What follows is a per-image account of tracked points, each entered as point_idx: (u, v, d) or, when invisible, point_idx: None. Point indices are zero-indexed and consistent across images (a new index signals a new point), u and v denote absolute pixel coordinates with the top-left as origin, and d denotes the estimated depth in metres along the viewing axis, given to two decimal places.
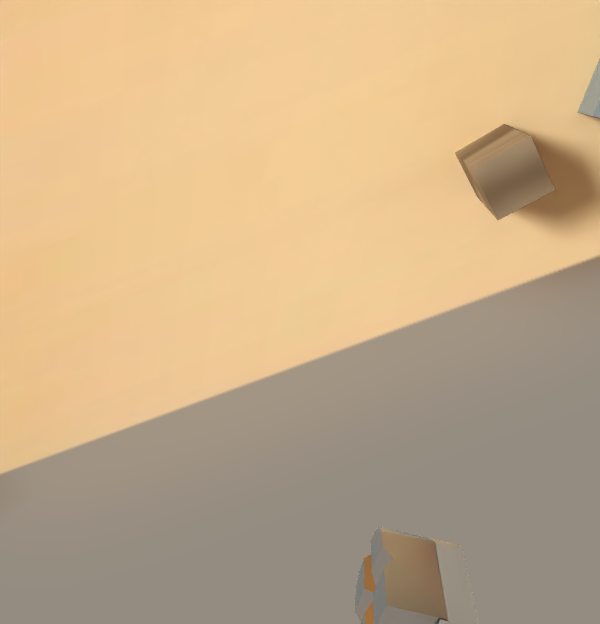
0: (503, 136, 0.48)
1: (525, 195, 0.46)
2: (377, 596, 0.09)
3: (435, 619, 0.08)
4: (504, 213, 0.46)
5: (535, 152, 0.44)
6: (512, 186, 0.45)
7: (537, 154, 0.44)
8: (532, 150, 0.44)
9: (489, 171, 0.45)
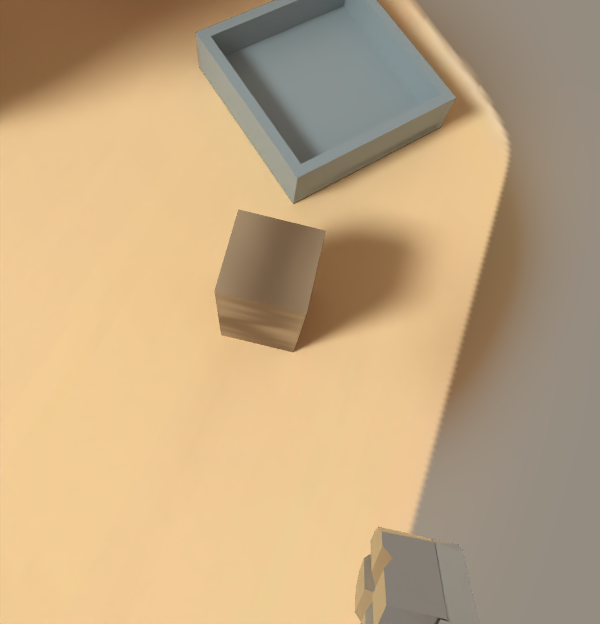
0: None
1: (304, 263, 0.30)
2: (376, 595, 0.09)
3: (435, 619, 0.08)
4: (304, 299, 0.29)
5: (261, 218, 0.30)
6: (278, 267, 0.30)
7: (265, 218, 0.30)
8: (256, 219, 0.30)
9: (235, 276, 0.29)
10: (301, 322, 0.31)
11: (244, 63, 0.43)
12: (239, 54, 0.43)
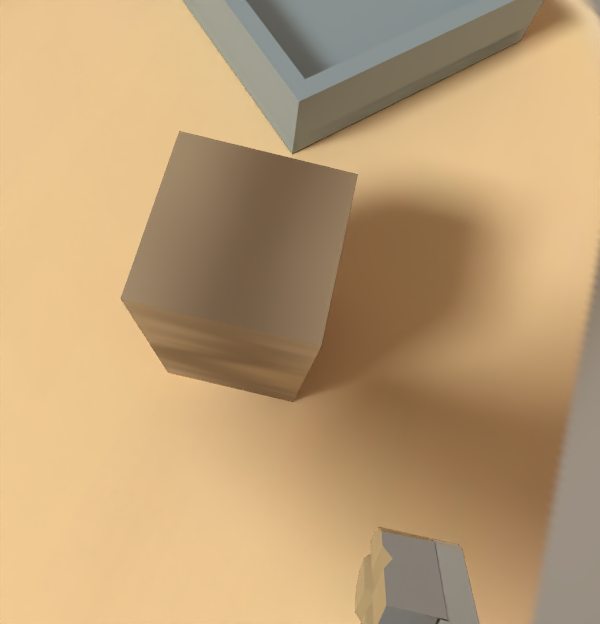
0: None
1: (314, 238, 0.14)
2: (376, 595, 0.09)
3: (435, 619, 0.08)
4: (315, 316, 0.14)
5: (226, 148, 0.15)
6: (259, 248, 0.14)
7: (235, 148, 0.15)
8: (215, 150, 0.15)
9: (168, 266, 0.14)
10: (309, 361, 0.15)
11: None
12: None
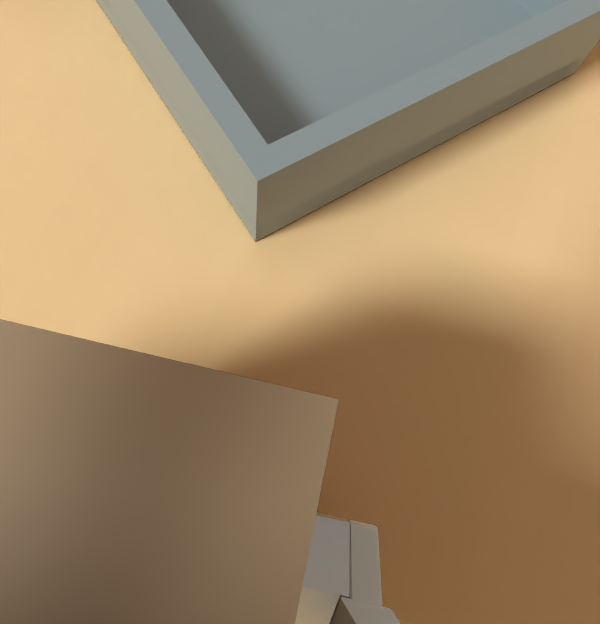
0: None
1: (242, 565, 0.07)
2: None
3: (337, 596, 0.08)
4: None
5: (66, 349, 0.07)
6: (118, 597, 0.06)
7: (85, 348, 0.07)
8: (42, 354, 0.07)
9: None
10: None
11: None
12: None
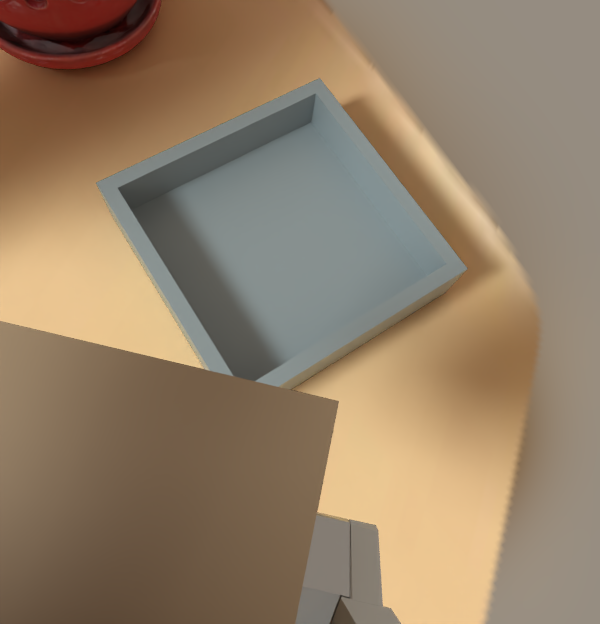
0: None
1: (242, 567, 0.07)
2: None
3: (337, 596, 0.08)
4: None
5: (66, 351, 0.07)
6: (116, 600, 0.06)
7: (85, 349, 0.07)
8: (42, 356, 0.07)
9: None
10: None
11: (172, 212, 0.31)
12: (165, 199, 0.31)
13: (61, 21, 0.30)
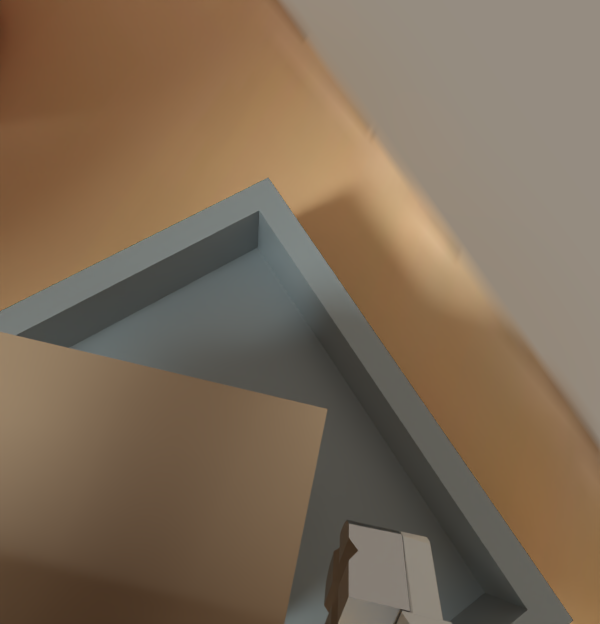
0: None
1: (241, 554, 0.07)
2: (341, 587, 0.09)
3: (397, 610, 0.08)
4: None
5: (86, 364, 0.08)
6: (132, 582, 0.07)
7: (102, 363, 0.08)
8: (64, 369, 0.08)
9: None
10: None
11: None
12: None
13: None
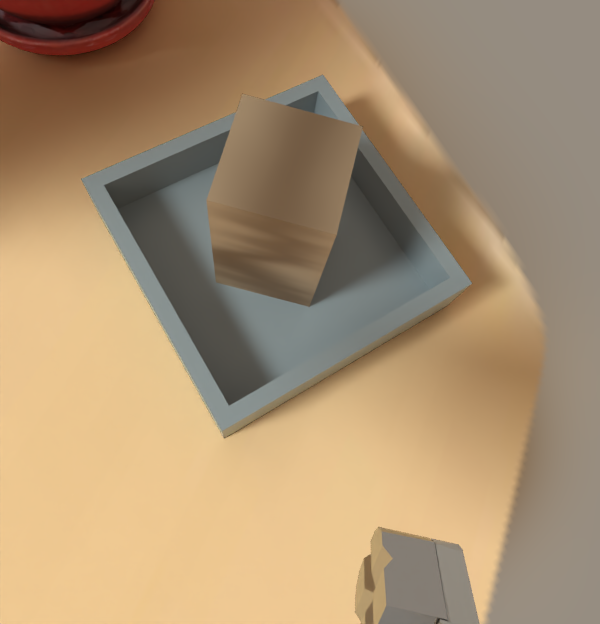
0: None
1: (332, 167, 0.21)
2: (376, 596, 0.09)
3: (435, 619, 0.08)
4: (332, 216, 0.21)
5: (274, 106, 0.22)
6: (296, 172, 0.21)
7: (280, 106, 0.22)
8: (266, 107, 0.22)
9: (236, 181, 0.21)
10: (326, 253, 0.22)
11: (162, 212, 0.29)
12: (156, 198, 0.29)
13: (49, 4, 0.28)
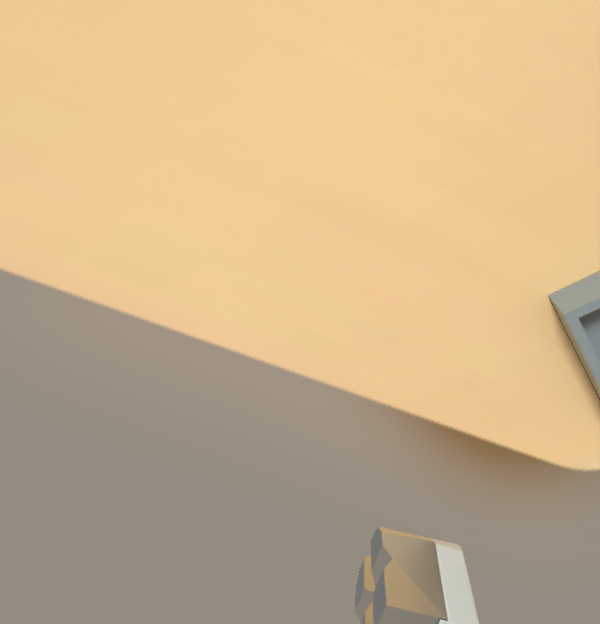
0: None
1: None
2: (376, 595, 0.09)
3: (435, 619, 0.08)
4: None
5: None
6: None
7: None
8: None
9: None
10: None
11: None
12: None
13: None
